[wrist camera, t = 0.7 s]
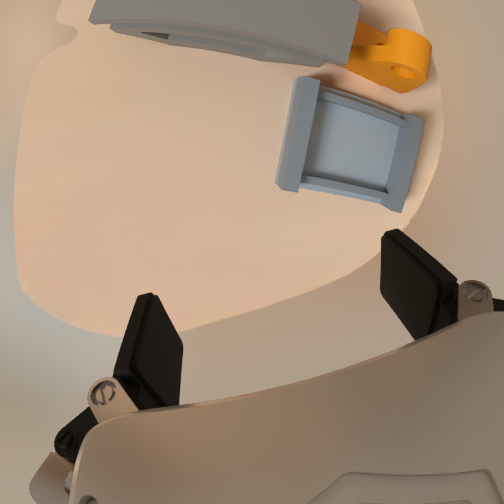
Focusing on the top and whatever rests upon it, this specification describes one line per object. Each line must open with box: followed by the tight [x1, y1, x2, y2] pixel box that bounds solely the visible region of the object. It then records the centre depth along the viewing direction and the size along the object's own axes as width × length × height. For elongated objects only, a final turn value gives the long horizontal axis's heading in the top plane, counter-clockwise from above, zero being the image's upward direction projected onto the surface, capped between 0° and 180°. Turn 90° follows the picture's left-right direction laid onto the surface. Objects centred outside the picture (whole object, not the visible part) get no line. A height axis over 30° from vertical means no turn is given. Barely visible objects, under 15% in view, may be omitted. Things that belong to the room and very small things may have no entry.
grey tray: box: [275, 76, 424, 213], centre depth 33 cm, size 14×18×4 cm
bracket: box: [343, 21, 432, 93], centre depth 24 cm, size 11×7×12 cm, turn 76°
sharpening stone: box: [88, 0, 361, 68], centre depth 21 cm, size 25×8×11 cm, turn 76°
